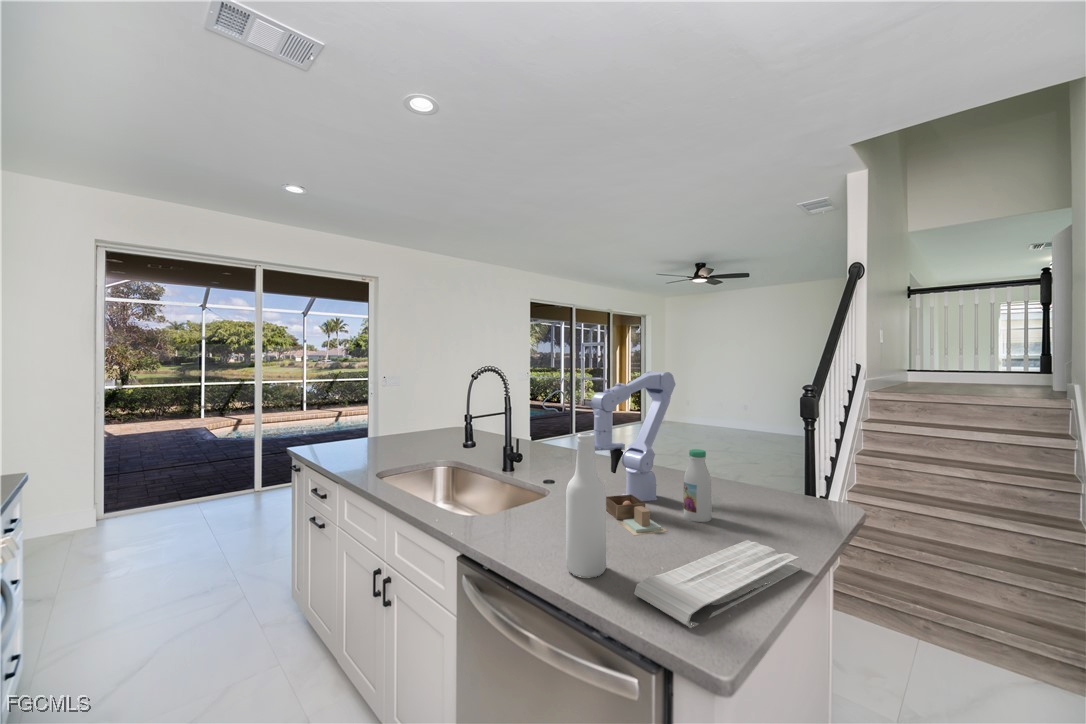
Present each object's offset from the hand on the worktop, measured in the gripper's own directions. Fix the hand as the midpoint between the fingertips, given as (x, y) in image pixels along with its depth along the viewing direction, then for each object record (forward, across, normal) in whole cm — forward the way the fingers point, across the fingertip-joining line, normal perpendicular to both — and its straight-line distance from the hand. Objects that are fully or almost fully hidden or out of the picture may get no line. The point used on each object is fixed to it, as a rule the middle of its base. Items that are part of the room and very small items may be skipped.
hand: (602, 473), depth 141 cm
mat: (+10, +4, -20) cm, 23 cm away
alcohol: (+11, -20, -39) cm, 45 cm away
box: (+10, +4, -9) cm, 14 cm away
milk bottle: (+10, +22, -18) cm, 31 cm away
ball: (+10, +5, -7) cm, 13 cm away
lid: (+10, +4, -20) cm, 22 cm away
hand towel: (+11, +5, -52) cm, 54 cm away
